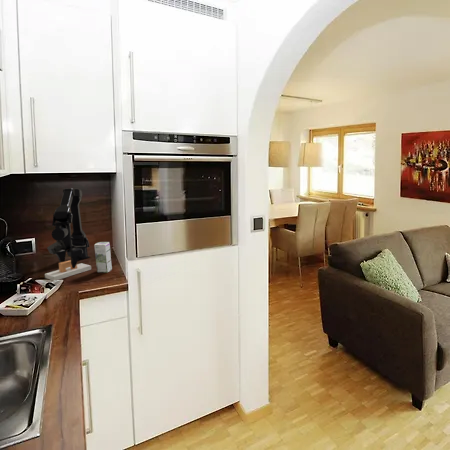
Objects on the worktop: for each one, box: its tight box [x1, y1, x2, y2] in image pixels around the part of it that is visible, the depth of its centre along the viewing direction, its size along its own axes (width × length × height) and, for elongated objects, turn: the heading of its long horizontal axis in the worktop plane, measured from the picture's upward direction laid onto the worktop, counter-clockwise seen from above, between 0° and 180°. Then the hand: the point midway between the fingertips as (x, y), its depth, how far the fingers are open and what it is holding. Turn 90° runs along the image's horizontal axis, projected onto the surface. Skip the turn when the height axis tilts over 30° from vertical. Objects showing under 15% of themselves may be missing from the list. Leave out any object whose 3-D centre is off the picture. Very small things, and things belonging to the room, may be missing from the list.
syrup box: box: [94, 241, 113, 273], centre depth 185 cm, size 6×6×14 cm
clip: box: [58, 259, 78, 273], centre depth 183 cm, size 8×2×6 cm, turn 145°
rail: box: [44, 262, 92, 281], centre depth 183 cm, size 20×8×2 cm, turn 145°
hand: (68, 266), depth 183 cm, fingers open, 9 cm apart
